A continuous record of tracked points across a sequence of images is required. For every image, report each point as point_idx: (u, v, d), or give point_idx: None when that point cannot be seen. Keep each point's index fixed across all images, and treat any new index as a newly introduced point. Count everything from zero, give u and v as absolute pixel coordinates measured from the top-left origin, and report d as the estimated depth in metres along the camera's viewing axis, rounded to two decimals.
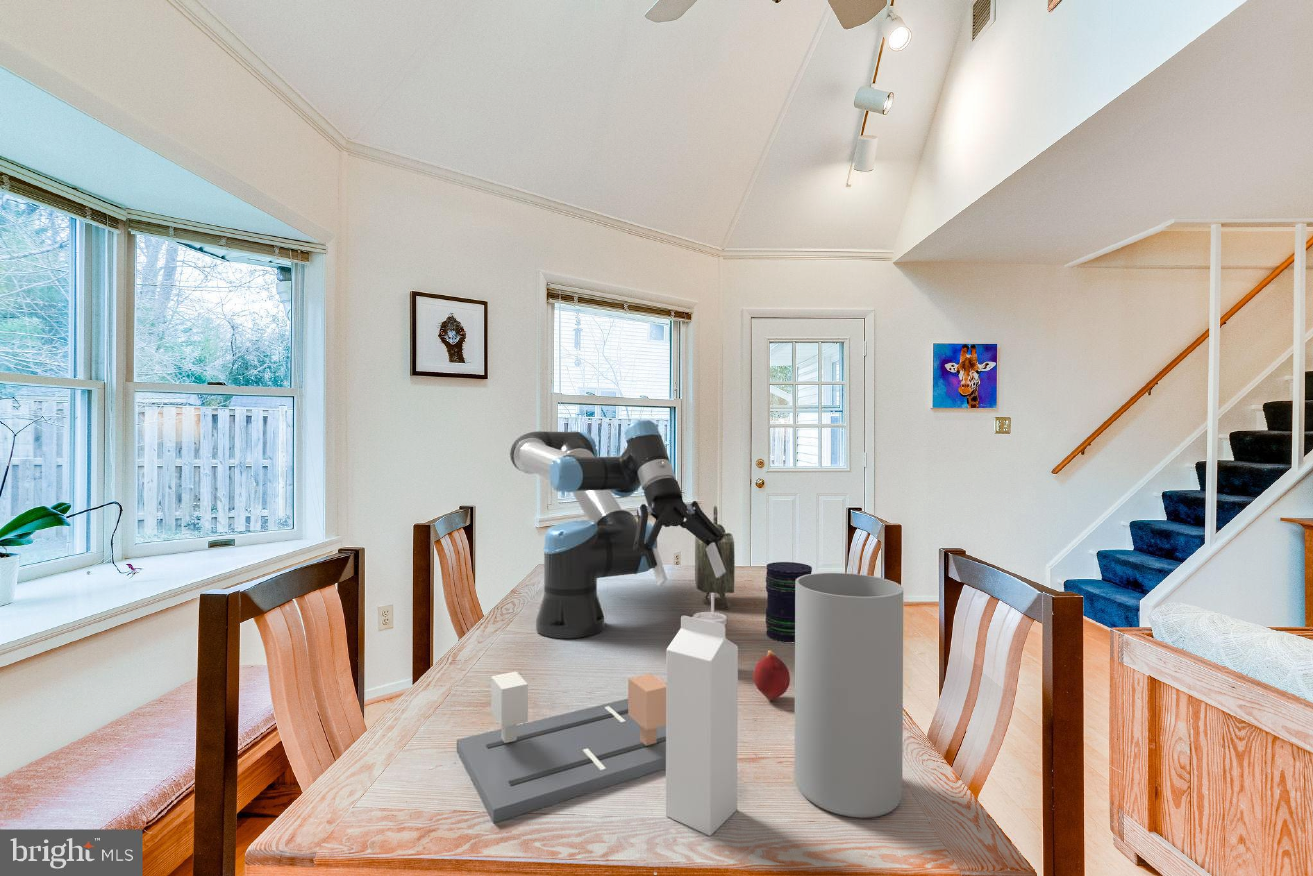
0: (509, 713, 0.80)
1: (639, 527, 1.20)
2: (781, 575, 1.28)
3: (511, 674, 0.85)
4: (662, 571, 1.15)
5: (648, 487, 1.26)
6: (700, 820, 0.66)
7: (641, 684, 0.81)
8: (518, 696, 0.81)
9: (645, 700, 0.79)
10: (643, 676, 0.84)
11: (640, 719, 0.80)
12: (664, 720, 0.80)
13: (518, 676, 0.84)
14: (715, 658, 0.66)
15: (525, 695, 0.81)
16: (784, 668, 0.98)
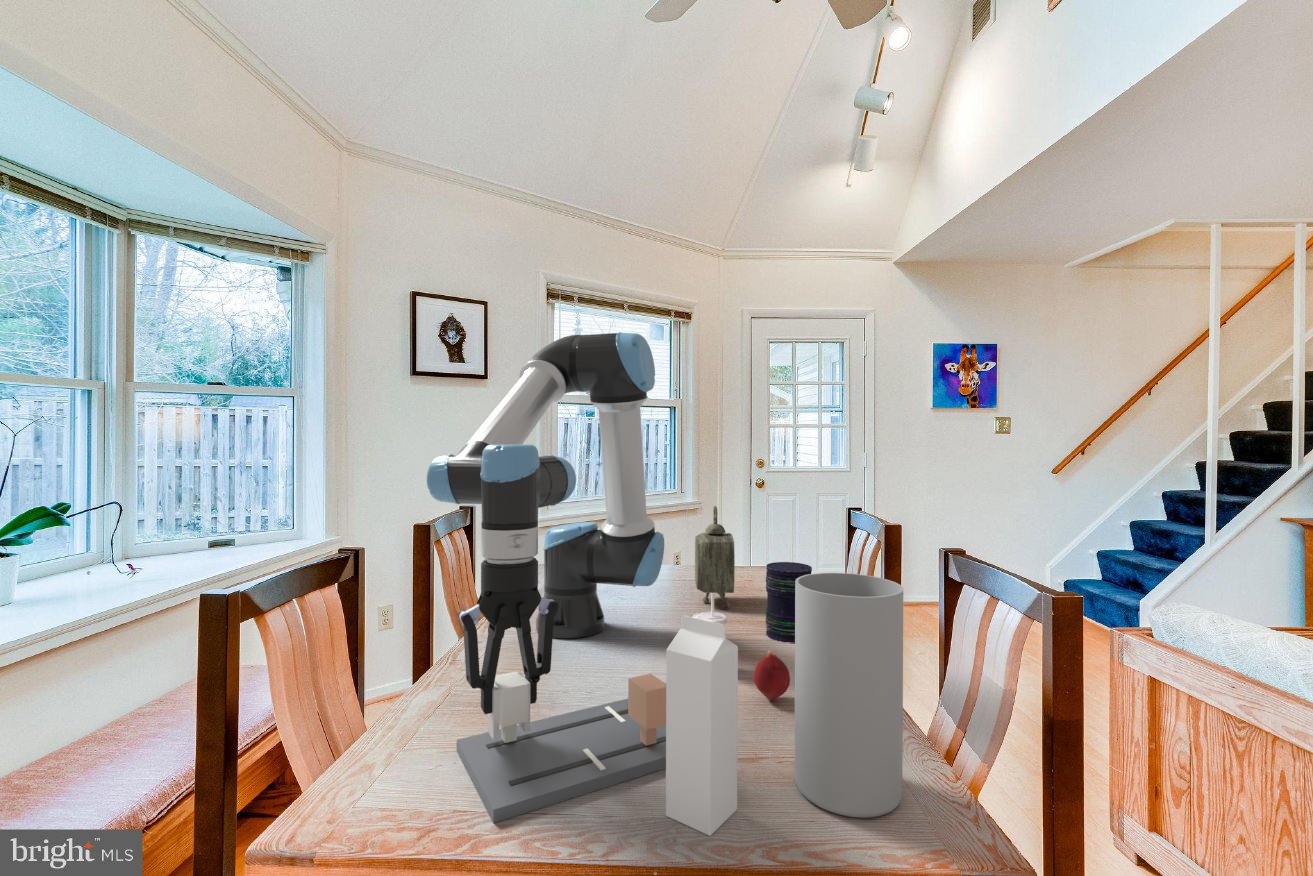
0: (510, 713, 0.80)
1: (467, 654, 0.79)
2: (781, 575, 1.28)
3: (511, 674, 0.85)
4: (495, 726, 0.80)
5: (485, 569, 0.80)
6: (700, 820, 0.66)
7: (641, 684, 0.81)
8: (519, 696, 0.81)
9: (645, 700, 0.79)
10: (643, 676, 0.84)
11: (640, 719, 0.80)
12: (664, 720, 0.80)
13: (518, 676, 0.84)
14: (715, 658, 0.66)
15: (525, 695, 0.81)
16: (784, 668, 0.98)
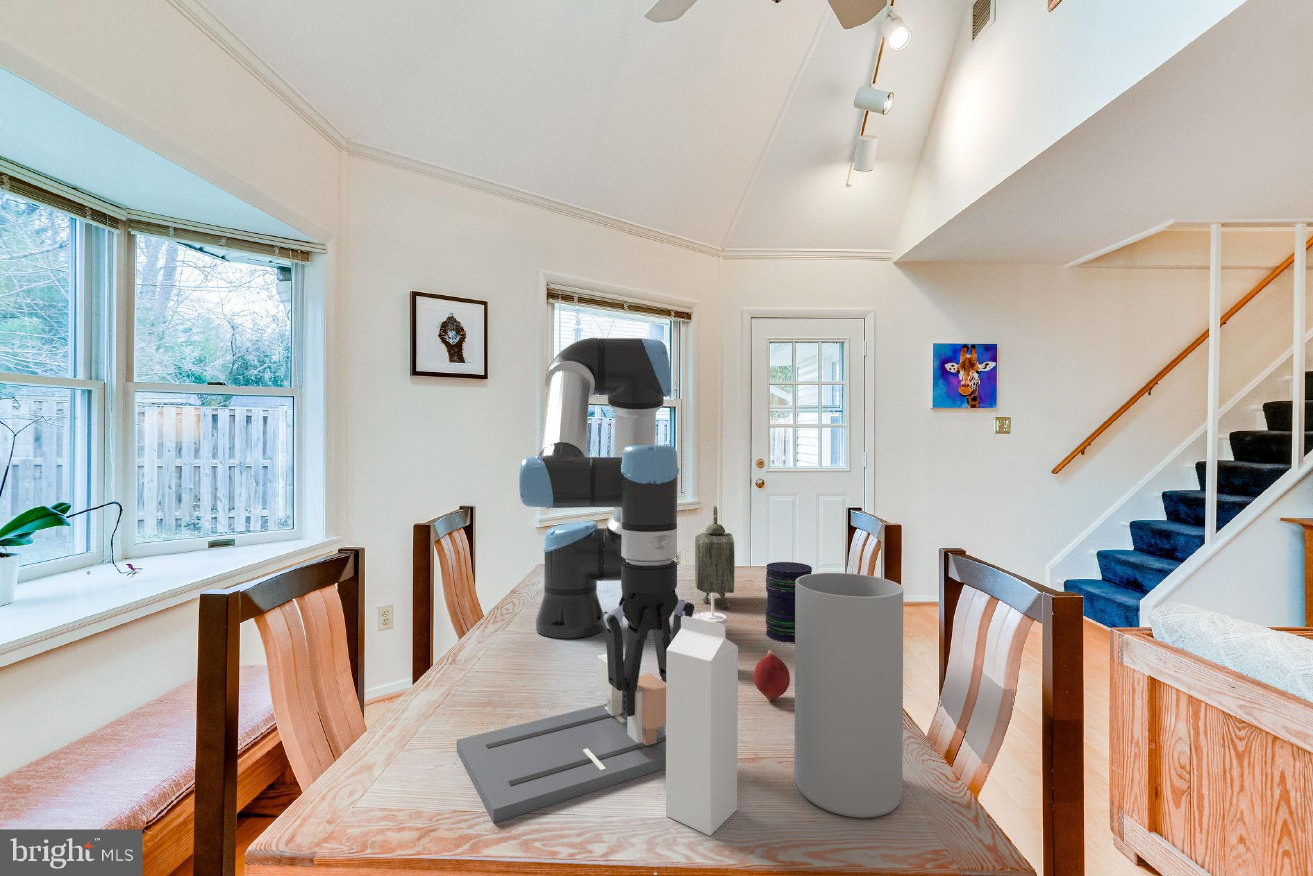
0: None
1: (612, 656, 0.79)
2: (781, 575, 1.28)
3: None
4: (638, 729, 0.80)
5: (629, 570, 0.79)
6: (700, 820, 0.66)
7: (641, 684, 0.81)
8: None
9: (645, 700, 0.79)
10: (643, 676, 0.84)
11: None
12: (664, 720, 0.80)
13: None
14: (715, 658, 0.66)
15: None
16: (784, 668, 0.98)
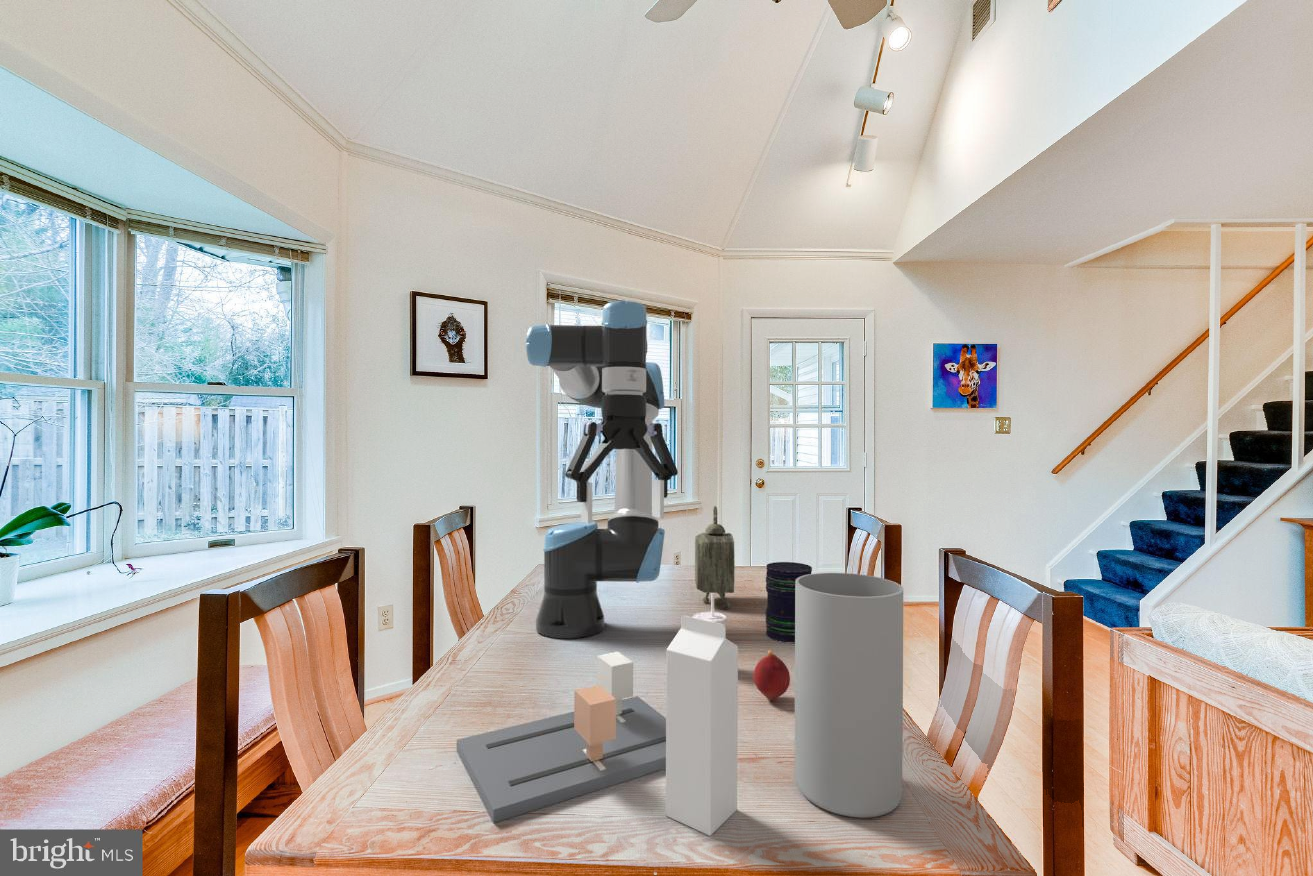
0: (618, 688, 0.88)
1: (579, 451, 0.99)
2: (781, 575, 1.28)
3: (614, 654, 0.93)
4: (589, 512, 0.99)
5: (607, 398, 1.01)
6: (700, 820, 0.66)
7: (587, 697, 0.77)
8: (625, 673, 0.89)
9: (589, 714, 0.75)
10: (590, 688, 0.80)
11: (585, 733, 0.76)
12: (610, 735, 0.76)
13: (621, 655, 0.92)
14: (715, 658, 0.66)
15: (631, 672, 0.89)
16: (784, 668, 0.98)
